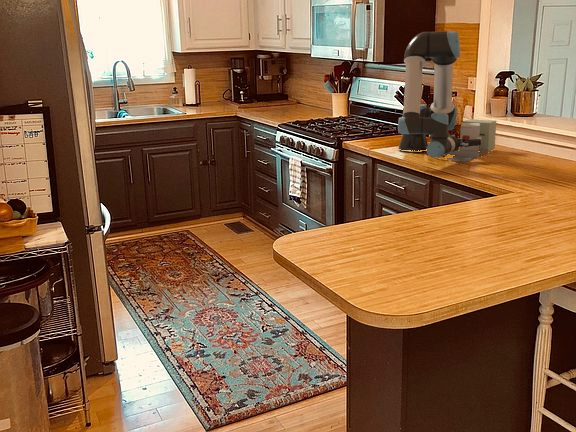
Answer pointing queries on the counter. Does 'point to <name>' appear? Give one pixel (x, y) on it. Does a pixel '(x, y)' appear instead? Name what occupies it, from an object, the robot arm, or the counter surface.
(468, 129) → the supplement box
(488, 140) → the dispenser rack
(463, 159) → the trivet
